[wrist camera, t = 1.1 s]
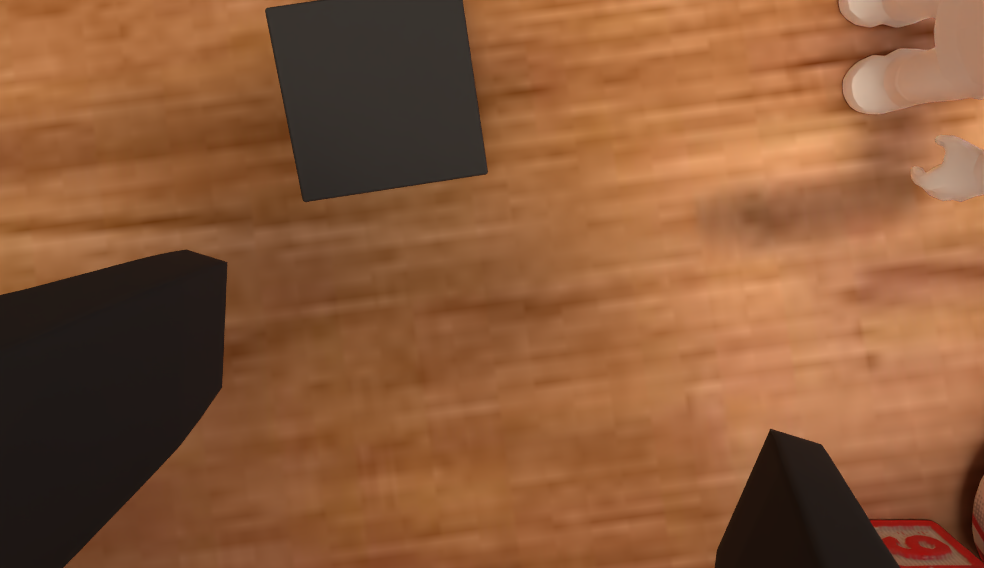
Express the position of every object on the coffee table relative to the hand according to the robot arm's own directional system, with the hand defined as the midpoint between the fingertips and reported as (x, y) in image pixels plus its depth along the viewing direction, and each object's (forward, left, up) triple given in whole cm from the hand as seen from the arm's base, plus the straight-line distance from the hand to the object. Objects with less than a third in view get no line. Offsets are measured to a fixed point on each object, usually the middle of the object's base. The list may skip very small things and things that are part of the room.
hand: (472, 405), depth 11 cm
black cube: (-1, +4, -14) cm, 14 cm away
